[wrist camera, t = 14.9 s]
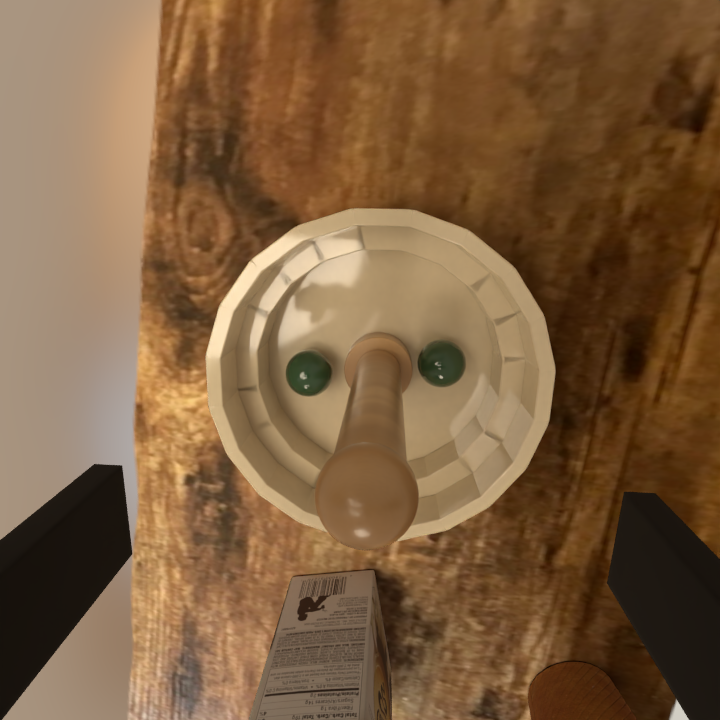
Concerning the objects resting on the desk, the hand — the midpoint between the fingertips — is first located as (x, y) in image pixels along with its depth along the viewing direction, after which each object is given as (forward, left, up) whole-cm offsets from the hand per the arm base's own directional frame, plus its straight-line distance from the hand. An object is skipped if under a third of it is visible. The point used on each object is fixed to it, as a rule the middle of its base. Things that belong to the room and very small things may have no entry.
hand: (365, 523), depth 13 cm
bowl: (0, 0, -18) cm, 18 cm away
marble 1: (+1, -4, -16) cm, 17 cm away
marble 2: (0, +4, -16) cm, 17 cm away
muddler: (0, 0, -18) cm, 18 cm away
